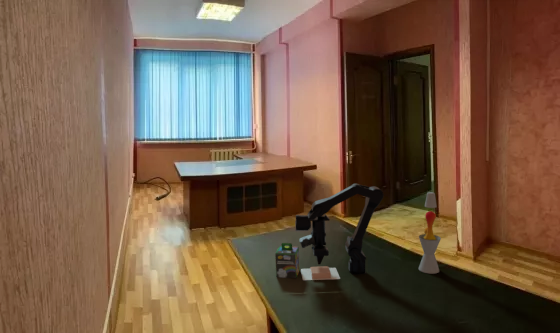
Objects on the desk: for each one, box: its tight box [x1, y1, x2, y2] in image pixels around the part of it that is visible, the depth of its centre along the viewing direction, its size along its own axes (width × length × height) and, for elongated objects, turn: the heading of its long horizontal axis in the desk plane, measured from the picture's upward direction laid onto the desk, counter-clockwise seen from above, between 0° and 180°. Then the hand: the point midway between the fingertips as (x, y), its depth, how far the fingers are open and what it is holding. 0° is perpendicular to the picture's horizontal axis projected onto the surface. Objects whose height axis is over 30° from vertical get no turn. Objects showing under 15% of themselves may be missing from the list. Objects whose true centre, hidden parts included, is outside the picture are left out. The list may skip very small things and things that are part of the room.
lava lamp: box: [418, 191, 441, 275], centre depth 167 cm, size 9×9×35 cm
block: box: [309, 265, 331, 279], centre depth 165 cm, size 8×3×7 cm
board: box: [300, 267, 341, 281], centre depth 167 cm, size 16×12×1 cm
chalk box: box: [274, 242, 301, 279], centre depth 167 cm, size 9×9×15 cm
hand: (319, 264), depth 168 cm, fingers closed
